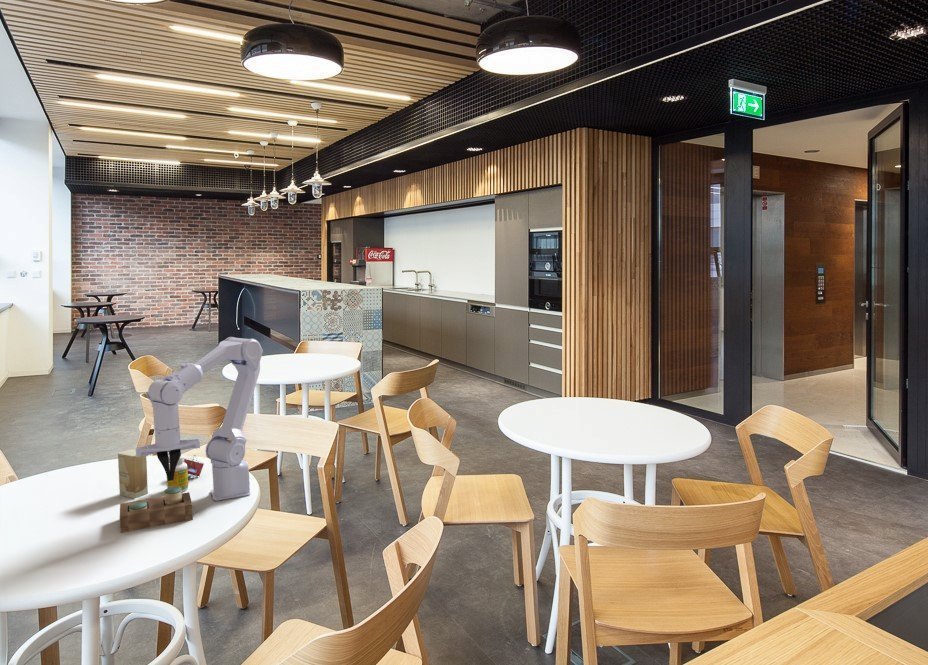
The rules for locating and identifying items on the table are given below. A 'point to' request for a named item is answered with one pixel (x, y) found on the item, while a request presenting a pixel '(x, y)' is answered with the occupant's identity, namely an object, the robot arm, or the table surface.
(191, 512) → the walnut block
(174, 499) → the peg
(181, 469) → the supplement bottle
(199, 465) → the geometric puzzle
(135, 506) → the peg
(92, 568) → the table surface
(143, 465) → the skincare box
